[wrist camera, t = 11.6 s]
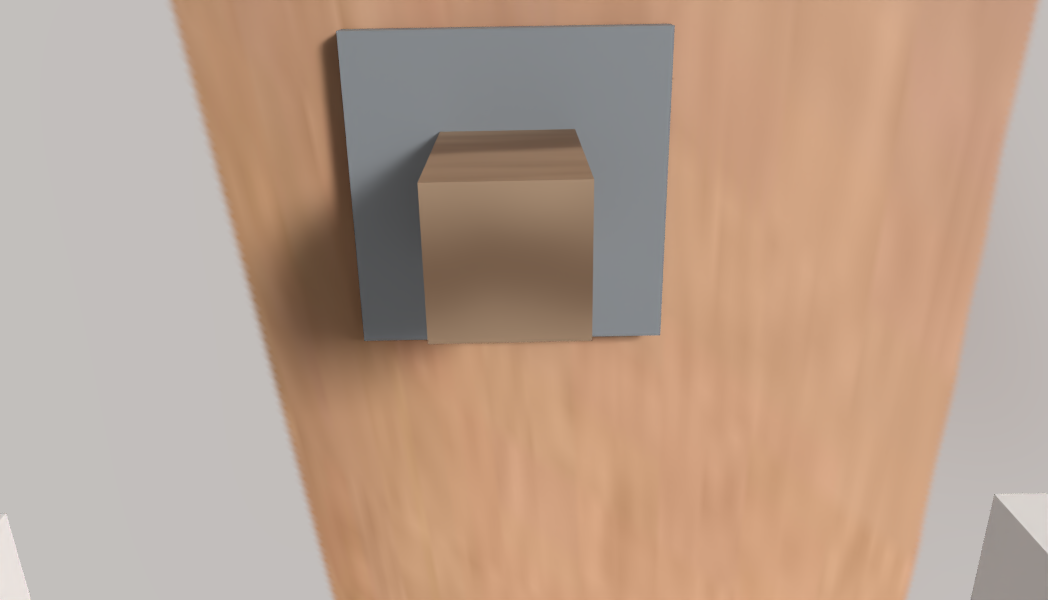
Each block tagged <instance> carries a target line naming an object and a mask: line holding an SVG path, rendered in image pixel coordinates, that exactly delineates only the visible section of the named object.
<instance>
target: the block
mask: <svg viewBox="0 0 1048 600" xmlns="http://www.w3.org/2000/svg"><path fill="white" fill-rule="evenodd" d="M417 184H418V199H419V215H420V230H421V246H422V261H423V277H424V292H425V308H426V323H427V339H428V344H462V343H509V342H556V341H592V317H593V236H594V177H593V175H592V172H591V170H590V167H589V164H588V162H587V159H586V157H585V154H584V151H583V149H582V146H581V143H580V141H579V138H578V136H577V133H576V130H575V129H553V130H503V131H453V132H440V133H439V135H438V137H437V140H436V142H435V144H434V146H433V149H432V151H431V153H430V155H429V158H428V160H427V162H426V165H425V167H424V169H423V171H422V174H421V176H420V178H419V181H418V183H417Z"/></svg>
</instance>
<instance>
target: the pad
mask: <svg viewBox="0 0 1048 600" xmlns="http://www.w3.org/2000/svg"><path fill="white" fill-rule="evenodd" d="M674 27H675V26H674V25H672V24H630V25H569V26H509V27H448V28H387V29H341V30H338V31H336V34H337V45H338V56H339V67H340V78H341V89H342V100H343V111H344V122H345V133H346V144H347V155H348V166H349V177H350V188H351V199H352V210H353V221H354V232H355V243H356V254H357V265H358V276H359V287H360V298H361V309H362V320H363V331H364V341H376V340H428V339H427V323H426V308H425V292H424V277H423V261H422V246H421V230H420V215H419V199H418V184H417V183H418V181H419V178H420V176H421V174H422V171H423V169H424V167H425V165H426V162H427V160H428V158H429V155H430V153H431V151H432V149H433V146H434V144H435V142H436V140H437V137H438V135H439V133H440V132H453V131H503V130H553V129H575V130H576V133H577V136H578V138H579V141H580V143H581V146H582V149H583V151H584V154H585V157H586V159H587V162H588V164H589V167H590V170H591V172H592V175H593V177H594V236H593V317H592V336H643V335H660V325H661V304H662V283H663V261H664V240H665V219H666V198H667V176H668V155H669V134H670V112H671V91H672V70H673V49H674Z"/></svg>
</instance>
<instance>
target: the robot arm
mask: <svg viewBox="0 0 1048 600" xmlns="http://www.w3.org/2000/svg"><path fill="white" fill-rule="evenodd" d="M0 600H31V598H30V595H29V591H28V588H27V584H26V581H25V577H24V574H23V570H22V567H21V563H20V560H19V556H18V553H17V549H16V546H15V542H14V539H13V535H12V532H11V528H10V525H9V522H8V518H7V515H6V513H0ZM971 600H1048V493H1030V494H1029V493H1028V494H994V498H993V503H992V507H991V512H990V516H989V521H988V525H987V529H986V534H985V538H984V543H983V547H982V551H981V556H980V560H979V565H978V569H977V574H976V578H975V583H974V587H973V592H972V596H971Z"/></svg>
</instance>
